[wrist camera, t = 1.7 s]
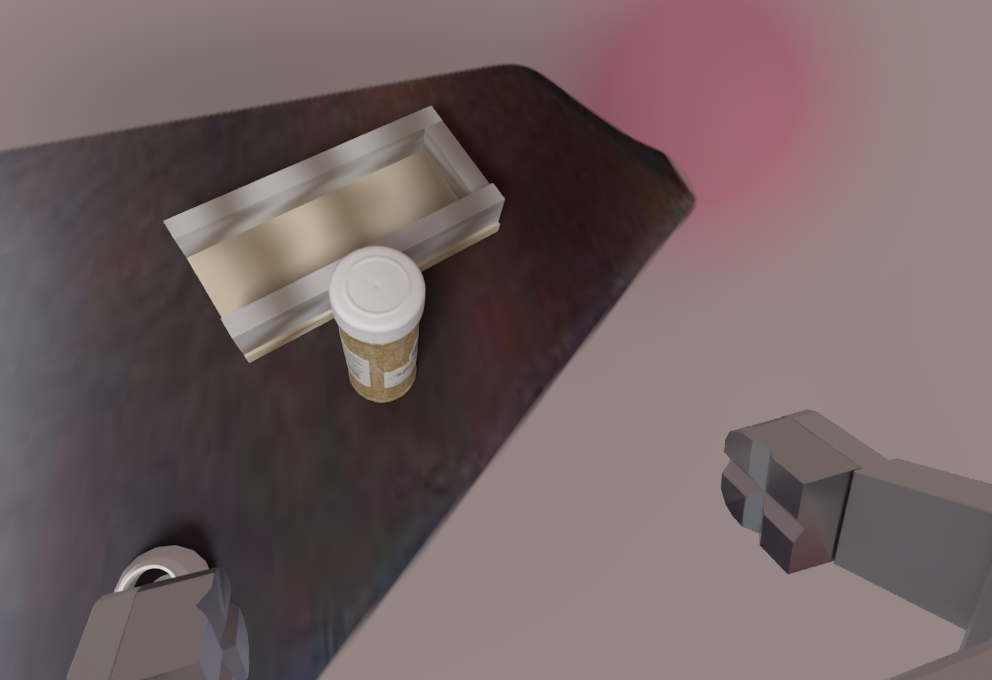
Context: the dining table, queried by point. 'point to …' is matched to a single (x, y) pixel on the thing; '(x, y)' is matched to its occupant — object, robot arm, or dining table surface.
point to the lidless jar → (162, 565)
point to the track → (333, 225)
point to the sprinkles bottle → (378, 319)
